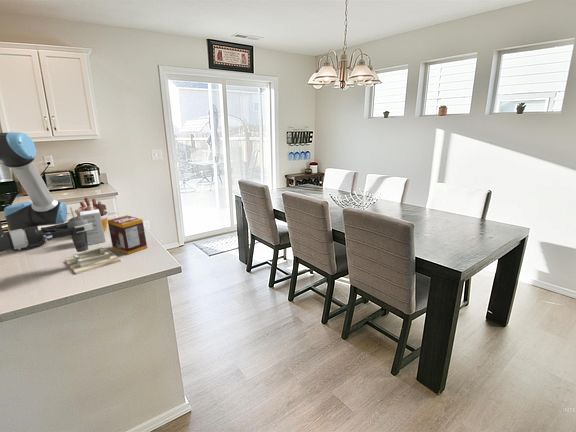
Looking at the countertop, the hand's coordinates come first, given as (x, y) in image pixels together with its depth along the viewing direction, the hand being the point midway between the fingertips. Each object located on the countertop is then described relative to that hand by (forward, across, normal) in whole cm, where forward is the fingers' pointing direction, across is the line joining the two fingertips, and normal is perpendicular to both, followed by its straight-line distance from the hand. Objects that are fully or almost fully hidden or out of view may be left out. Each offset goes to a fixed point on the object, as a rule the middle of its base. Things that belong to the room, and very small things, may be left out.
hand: (90, 224), depth 141 cm
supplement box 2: (+16, -5, -18) cm, 25 cm away
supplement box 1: (+7, -31, -18) cm, 36 cm away
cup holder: (-2, -1, -18) cm, 18 cm away
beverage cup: (-5, 0, -11) cm, 12 cm away
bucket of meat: (+11, -51, -18) cm, 55 cm away
